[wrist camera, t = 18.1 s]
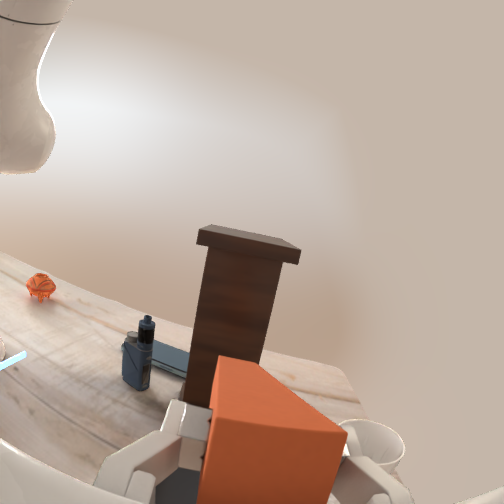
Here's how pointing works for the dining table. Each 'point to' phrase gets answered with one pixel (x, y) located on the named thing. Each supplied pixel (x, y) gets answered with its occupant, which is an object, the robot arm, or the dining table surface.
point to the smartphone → (169, 358)
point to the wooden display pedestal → (232, 302)
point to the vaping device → (138, 355)
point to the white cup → (376, 445)
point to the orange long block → (266, 442)
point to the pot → (40, 286)
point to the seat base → (178, 488)
